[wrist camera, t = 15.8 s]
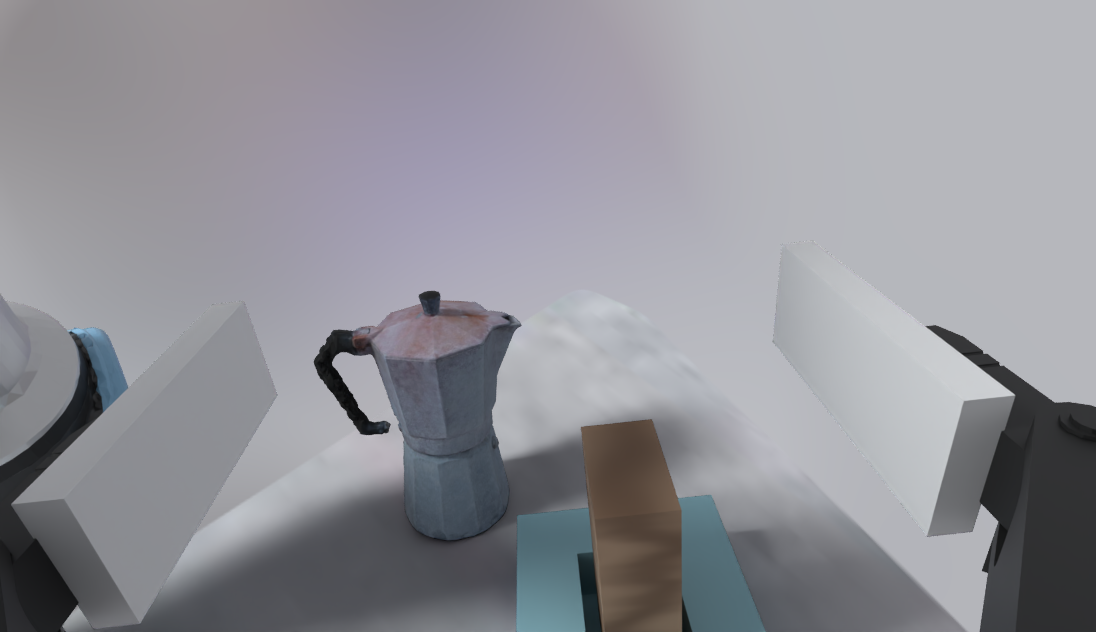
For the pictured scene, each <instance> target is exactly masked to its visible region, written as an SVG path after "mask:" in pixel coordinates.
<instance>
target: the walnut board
mask: <svg viewBox="0 0 1096 632" xmlns="http://www.w3.org/2000/svg"><path fill="white" fill-rule="evenodd" d="M581 432H582V442H583V453H584V464H585V474H586V485H587V496H588V506H589V517H590V527H591V538H592V549H593V559H594V570H595V581H596V591H597V602H598V611H599V619H600V626H601V632H682V510H681V507H680V504H679V501H678V498H677V495H676V492H675V489H674V486H673V483H672V479H671V476H670V473H669V470H668V467H667V464H666V461H665V458H664V455H663V452H662V449H661V446H660V443H659V440H658V437H657V434H656V431H655V428H654V425H653V421H652V419H650V420H641V421H632V422H623V423H613V424H604V425H595V426H585V427H581Z"/></svg>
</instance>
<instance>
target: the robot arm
mask: <svg viewBox="0 0 1096 632" xmlns="http://www.w3.org/2000/svg"><path fill="white" fill-rule="evenodd" d="M773 343H774V344H775V345H776V346H777V348H778V349H779V350H780V352H781V353H782V354H783V355H784V356H785V358H786V359H787V360H788V362H789V363H790V364H791V365H792V366H793V368H794V369H795V371H796V372H797V373H798V374H799V376H800V377H801V378H802V379H803V381H804V382H805V383H806V384H807V386H808V387H809V388H810V389H811V391H812V392H813V393H814V395H815V396H816V397H817V398H818V399H819V401H820V402H821V403H822V405H823V406H824V407H825V408H826V410H827V411H828V412H829V413H830V415H831V416H832V417H833V418H834V420H835V421H836V422H837V424H838V425H839V426H840V427H841V429H842V430H843V431H844V432H845V434H846V435H847V436H848V437H849V439H850V440H851V441H852V442H853V444H854V445H855V446H856V448H857V449H858V450H859V451H860V452H861V454H862V455H863V456H864V458H865V459H866V460H867V462H868V463H869V464H870V465H871V467H872V468H873V469H874V470H875V472H876V473H877V474H878V475H879V477H880V478H881V479H882V481H883V482H884V483H885V484H886V486H887V487H888V488H889V489H890V491H891V492H892V493H893V494H894V496H895V497H896V498H897V499H898V501H899V502H900V503H901V505H902V506H903V507H904V508H905V510H906V511H907V512H908V513H909V515H910V516H911V517H912V518H913V520H914V521H915V522H916V523H917V525H918V526H919V527H920V528H921V530H922V531H923V532H924V534H925V535H926V536H927V537H929V536H938V535H947V534H956V533H965V532H972V531H973V528H974V525H975V522H976V519H977V515H978V512H979V509H980V506H981V504H982V505H983V506H984V507H985V508H986V509H987V510H988V511H989V512H990V513H991V514H992V515H993V516H994V517H995V518H996V519H997V520H998V525H997V528H996V531H995V534H994V537H993V540H992V543H991V546H990V549H989V551H988V554H987V558H986V560H985V563H984V566H983V569H982V571H984V572H987V573H988V577H987V584H986V591H985V599H984V605H983V613H982V619H981V626H980V632H1096V407H1094V406H1091V405H1084V404H1078V403H1071V402H1063V403H1054V402H1053V401H1052V400H1050V399H1048V398H1047V397H1046V396H1045V395H1043V394H1042V393H1040V392H1039V391H1038V390H1036V389H1035V388H1034V387H1032V386H1031V385H1029V384H1028V383H1027V382H1025V381H1024V380H1023V379H1021V378H1020V377H1018V376H1017V375H1015V374H1014V373H1013V372H1011V371H1010V370H1008V369H1007V368H1006V367H1005V366H1000V365H999V362H998V361H996V360H995V359H993V358H992V357H991V356H989V355H988V354H983V351H982V350H981V349H979V348H978V347H977V346H975V345H974V344H972V343H971V342H970V341H968V340H967V339H966V338H964V337H963V336H960V335H958V334H955V333H953V332H951V331H948V330H946V329H943V328H941V327H939V326H936V325H934V326H924V325H923V324H921V323H920V322H919V321H917V320H916V319H915V318H913V317H912V316H911V315H909V314H908V313H907V312H906V311H904V310H903V309H902V308H900V307H899V306H898V305H897V304H895V303H894V302H893V301H891V300H890V299H889V298H887V297H886V296H885V295H883V294H882V293H881V292H879V291H878V290H877V289H876V288H874V287H873V286H872V285H870V284H869V283H868V282H866V281H865V280H864V279H862V278H861V277H860V276H858V275H857V274H856V273H855V272H853V271H852V270H851V269H849V268H848V267H847V266H845V265H844V264H843V263H841V262H840V261H839V260H838V259H836V258H835V257H833V256H832V255H831V254H830V253H828V252H827V251H826V250H824V249H823V248H822V247H820V246H819V245H818V244H816V243H815V242H814V241H805V242H796V243H787V244H782V247H781V258H780V270H779V280H778V291H777V302H776V313H775V323H774V334H773ZM276 397H277V392H276V389H275V387H274V384H273V381H272V378H271V375H270V372H269V369H268V367H267V364H266V361H265V358H264V355H263V353H262V350H261V347H260V344H259V341H258V339H257V336H256V333H255V330H254V327H253V325H252V322H251V319H250V316H249V313H248V311H247V308H246V305H245V302H244V301H239V302H229V303H221V304H212V305H211V306H210V307H209V308H208V309H207V310H206V311H205V312H204V313H203V314H202V315H201V316H200V317H199V318H198V319H197V320H196V321H195V322H194V323H193V324H192V325H191V326H190V327H189V328H188V329H187V330H186V331H185V332H184V333H183V334H182V335H181V336H180V337H179V338H178V339H177V340H176V341H175V342H174V343H173V344H172V345H171V346H170V347H169V348H168V349H167V350H166V351H165V352H164V353H163V354H162V355H161V356H160V357H159V358H158V359H157V360H156V361H155V362H154V363H153V364H152V365H151V366H150V367H149V368H148V369H147V370H146V371H145V372H144V373H143V374H142V375H141V376H140V377H139V378H138V379H137V380H136V381H135V382H134V383H133V384H132V385H131V386H130V387H129V388H128V385H127V382H126V380H125V377H124V374H123V371H122V369H121V366H120V363H119V361H118V358H117V355H116V353H115V350H114V348H113V346H112V343H111V341H110V339H109V337H108V335H107V334H106V333H105V332H104V331H103V330H101V329H98V328H86V329H78V328H74V329H71V330H66V329H65V328H64V327H63V326H62V325H61V324H60V323H59V322H58V321H57V320H56V319H54V318H53V317H51V316H50V315H48V314H47V313H44V312H42V311H40V310H38V309H35V308H32V307H29V306H26V305H24V304H19V303H15V302H10V301H5V300H4V299H3V297H2V296H1V294H0V632H66V631H65V630H64V628H63V627H62V625H63V624H64V622H65V621H66V620H67V618H68V617H69V615H70V614H71V613H72V611H73V610H74V609H75V607H76V605H78V606H79V608H80V609H81V611H82V612H83V614H84V615H85V617H86V619H87V620H88V622H89V623H90V625H91V626H92V628H93V629H98V628H107V627H116V626H125V625H134V624H140V623H141V621H142V620H143V618H144V616H145V615H146V613H147V611H148V610H149V608H150V606H151V605H152V603H153V601H154V600H155V598H156V596H157V595H158V593H159V591H160V590H161V588H162V587H163V585H164V583H165V582H166V580H167V578H168V577H169V575H170V573H171V572H172V570H173V568H174V567H175V565H176V563H177V562H178V560H179V558H180V557H181V555H182V553H183V552H184V550H185V548H186V547H187V545H188V543H189V542H190V540H191V538H192V537H193V535H194V533H195V532H196V530H197V528H198V527H199V525H200V523H201V521H202V520H203V518H204V517H205V515H206V513H207V512H208V510H209V508H210V507H211V505H212V503H213V502H214V500H215V498H216V497H217V495H218V493H219V492H220V490H221V488H222V487H223V485H224V483H225V482H226V480H227V478H228V477H229V475H230V473H231V472H232V470H233V468H234V467H235V465H236V463H237V462H238V460H239V459H240V457H241V455H242V453H243V452H244V450H245V448H246V447H247V445H248V443H249V442H250V440H251V438H252V437H253V435H254V434H255V432H256V430H257V428H258V427H259V425H260V424H261V422H262V420H263V418H264V417H265V415H266V414H267V412H268V410H269V409H270V407H271V405H272V404H273V402H274V400H275V399H276Z"/></svg>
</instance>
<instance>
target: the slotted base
mask: <svg viewBox="0 0 1096 632" xmlns="http://www.w3.org/2000/svg"><path fill="white" fill-rule="evenodd" d="M678 501H679V504H680V507H681V510H682V632H766V631H765V628H764V626H763V623H762V621H761V618H760V616H759V613H758V611H757V608H756V606H755V603H754V601H753V598H752V596H751V593H750V591H749V588H748V586H747V583H746V581H745V578H744V576H743V573H742V571H741V568H740V566H739V563H738V561H737V558H736V556H735V553H734V551H733V548H732V546H731V543H730V541H729V538H728V536H727V533H726V531H725V528H724V526H723V523H722V521H721V518H720V516H719V513H718V511H717V508H716V506H715V503H714V501H713V498H712V496H711V495H704V496H695V497H686V498H678ZM516 632H601V626H600V619H599V611H598V602H597V591H596V581H595V570H594V559H593V549H592V538H591V527H590V517H589V508H582V509H572V510H563V511H554V512H544V513H535V514H525V515H517V614H516Z"/></svg>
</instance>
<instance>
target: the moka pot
mask: <svg viewBox="0 0 1096 632" xmlns="http://www.w3.org/2000/svg"><path fill="white" fill-rule="evenodd" d="M419 299H420V302H421V304H419V305H416V306H413V307H409V308H406V309H403V310H399V311H396V312H392V313H390V314H389V315H388V316H387V317H386V318H385V319H384V320H383V321H382V322H381V323H380V324H379V325H378V326H377V327H374V326H368V327H361V328H358V329H356V330H355V331H348V330H333V331H332V333H331V335H330V336H329V337H328V338H327V339H326V341H327V342H326V344H325V345H323V346H322V347H321V348H320V351H319V352H320V353H319V354H318V355H317V356H316V358H315V360H314V365H315V367H316V369H317V373H318V375H319V376H320V379H322V380H323V381H324V383H325V384H326V385H327V388H328V389H329V390H330V391H331V392H332V393H333V394H334V396H335V397H336V399H337V401H339V403H340V405H341V407H342V408H343V409H345V410H346V411H347V415H348V417H349V418H350V419H351V420H352V421H353V423H354V425H355V426H356V428H357V429H358V431H359V432H360V434H363V435H374V434H383V433H388V432H389V427H390V425H391V424H390V423H388V422H387V421H381V422H375V423H374V422H371V421H369V420H368V418H367V416H366V415H365V414H364V413H363V412H362V411H361V410H360V409H359V408H358V404H357V402H356V400H355V399H354V397H353V394H352V393H351V392H350V391H349V390H348V387H347V386H346V385H345V383H344V382H343V380H342V377H341V376H340V375H339V373H338V371H337V370H336V369H335V368H334V367H333V366H332V361H333V359H334V357H335V356H336V355H337V354H339V353H340V352H348V353H350V354H352V355H359V356H362V355H368V354H371V355H373V357H374V359H375V361H376V364H377V366H378V369H379V372H380V375H381V377H382V380H383V383H384V386H385V389H386V391H387V394H388V398H389V400H390V403H391V407H392V409H393V412H394V415H395V416H396V417H397V419H398V421H399V424H398V426H399V429H400V431H401V432H402V434H403V437H404V442H403V443H404V457H403V459H404V497H405V512H406V514H407V517H408V519H409V521H410V523H411V524H412V526H413V527H414V528H415V529H416V530H417V531H419V532H420V533H422V534H424V535H426V536H429V537H433V538H436V539H443V540H457V539H462V538H466V537H470V536H475V535H476V534H479V533H481V532H483V531H485V530H487V529H488V528H490V527H491V526H492V525H493V524H495V523H496V522H497V521H498V520H499V519H500V518H501V517H502V516H503V514H504V513H505V510H506V508H507V504H508V498H509V486H508V481H507V477H506V473H505V470H504V466H503V462H502V458H501V454H500V450H499V447H498V444H499V442H498V439H497V437H496V435H495V431H494V428H493V426H492V424H493V421H492V409H493V407H494V404H495V401H496V387H497V374H498V371H499V368H500V365H501V363H502V361H503V358H504V356H505V353H506V351H507V348H508V346H509V343H510V341H511V338H512V336H513V333H514V331H515V330H516V329H517V328H518V327H520V326H522V325H521V323H520V322H519V321H518V320H517V319H516V318H515V317H514V316H511V315H508V314H506V313H503V312H496V311H487V310H486V309H484V308H483V307H482V306H481V305H479V304H478V303H476V302H464V301H441V300H440V294H439V292H436V291H427V292H424V293H422V294H420V295H419Z"/></svg>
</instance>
